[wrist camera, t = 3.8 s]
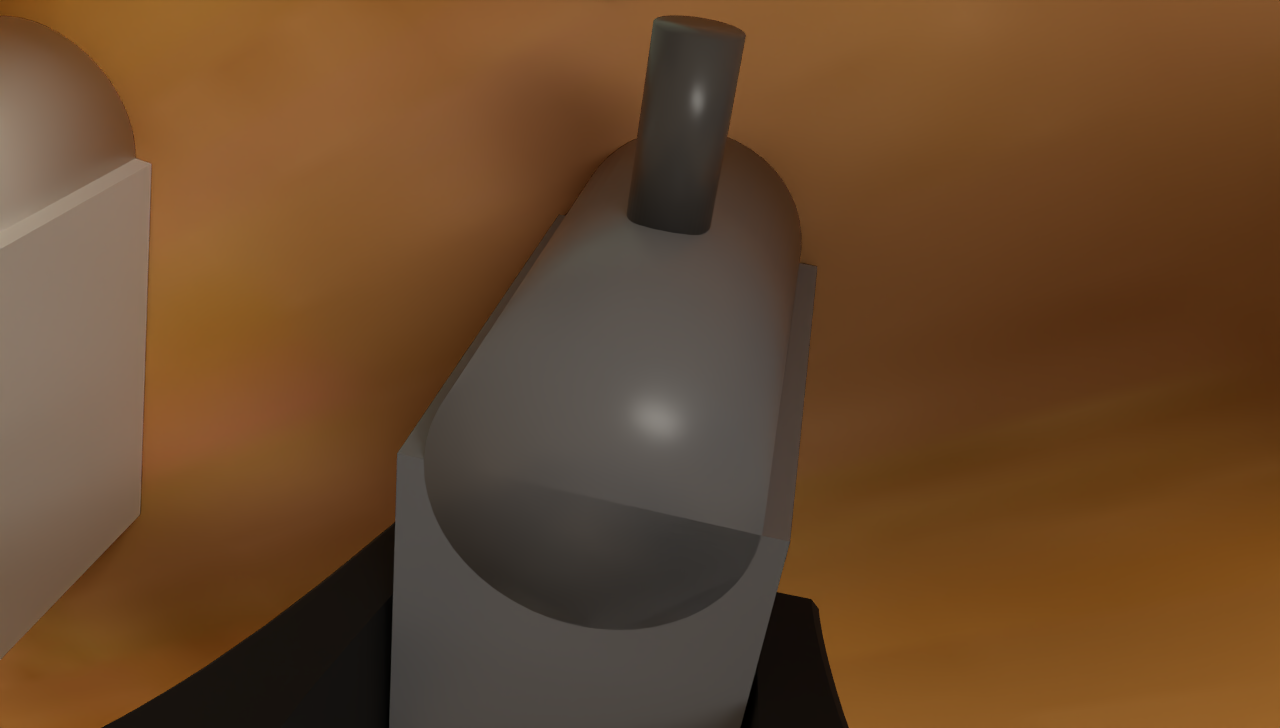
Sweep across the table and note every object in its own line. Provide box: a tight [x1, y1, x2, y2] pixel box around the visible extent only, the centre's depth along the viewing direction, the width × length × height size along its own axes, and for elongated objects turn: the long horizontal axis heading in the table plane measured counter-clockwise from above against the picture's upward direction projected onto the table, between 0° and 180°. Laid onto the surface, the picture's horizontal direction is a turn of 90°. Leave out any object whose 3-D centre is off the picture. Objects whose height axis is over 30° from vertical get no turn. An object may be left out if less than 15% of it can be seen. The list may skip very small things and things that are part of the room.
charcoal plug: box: [389, 16, 817, 728], centre depth 14 cm, size 14×4×6 cm, turn 172°
